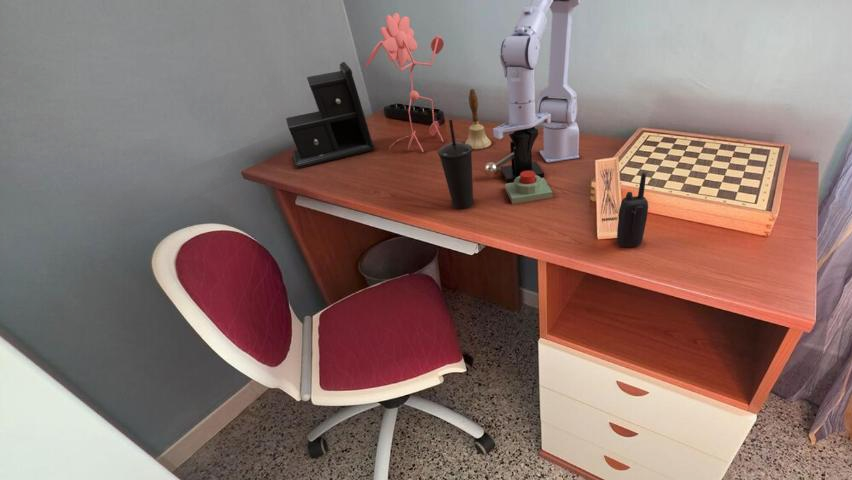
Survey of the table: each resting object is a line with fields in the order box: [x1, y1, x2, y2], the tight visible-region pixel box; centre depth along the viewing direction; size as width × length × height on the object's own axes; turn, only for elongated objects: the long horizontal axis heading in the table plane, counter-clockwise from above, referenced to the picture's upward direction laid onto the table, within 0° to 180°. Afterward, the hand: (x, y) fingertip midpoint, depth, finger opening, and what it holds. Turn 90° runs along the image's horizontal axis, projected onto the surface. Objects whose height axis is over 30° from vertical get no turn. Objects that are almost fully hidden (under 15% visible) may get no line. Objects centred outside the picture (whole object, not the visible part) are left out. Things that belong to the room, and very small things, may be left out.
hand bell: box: [464, 88, 492, 150], centre depth 126 cm, size 8×8×16 cm
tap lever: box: [483, 152, 514, 178], centre depth 109 cm, size 12×4×4 cm, turn 102°
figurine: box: [365, 12, 457, 153], centre depth 123 cm, size 15×26×35 cm, turn 145°
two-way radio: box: [616, 172, 649, 248], centre depth 80 cm, size 6×4×15 cm
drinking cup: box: [437, 119, 474, 211], centre depth 96 cm, size 8×8×20 cm
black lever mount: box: [499, 140, 545, 184], centre depth 110 cm, size 10×8×8 cm
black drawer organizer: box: [285, 61, 375, 169], centre depth 125 cm, size 23×11×24 cm, turn 116°
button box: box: [504, 175, 554, 205], centre depth 103 cm, size 10×8×4 cm
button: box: [520, 171, 535, 184], centre depth 102 cm, size 4×4×2 cm
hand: (524, 160), depth 100 cm, fingers closed
